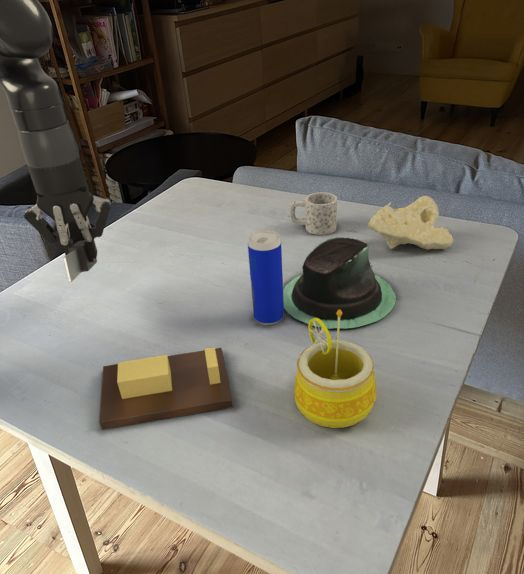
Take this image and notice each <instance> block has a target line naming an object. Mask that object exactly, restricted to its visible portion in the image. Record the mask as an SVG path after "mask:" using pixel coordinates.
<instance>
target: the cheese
mask: <svg viewBox="0 0 524 574" xmlns="http://www.w3.org/2000/svg"><path fill="white" fill-rule="evenodd" d="M391 204H392V202H389V203H388V204H387V205H386V204H385V205H384V206H383V207H382V208H380V209H379V210H376V213H375V214H374V215H373V216H372V217H370V219H369V222H368V224H367V226H368V228H369V229H370V230H371V231H374V232H376V233H378V234H379V235H381V236H382V237H383V239H384V240H385V241H386V244H387V246H388V247H389V249H390V250H394V248H396V247H398V246H399V245H406V244H411V245H415V246H417V247H418V248H420V249H424V250H426V251H427V250H446V249H448V248H449V247H451V246H452V245H453V243H454V238H453V235H452V234H451V233H450V232H449V230H448V229H447V228H444V227H443V226H440V227H436V223H437V222H438V219H439V217H440V215H439V214H440V211H439V207H438V205H437V203H436V202H435V200H434V199H433V198H432V197H430V196H428V195H422V196H420V197H419V198H417V199H416V200H414V201H413V202H412V203H410V204H408V205H406V206H404V207H398V208H396V209H393V207H391V206H390V205H391Z"/></svg>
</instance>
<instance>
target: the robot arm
mask: <svg viewBox="0 0 524 574" xmlns="http://www.w3.org/2000/svg"><path fill="white" fill-rule="evenodd" d="M39 1H40V0H0V86H1V88H2V89H3V92H4V93H5V95H6V98H7V103H8V106H9V109H10V112H11V115H12V118H13V121H14V125H15V127H16V131H17V133H18V134H17V135H18V140H19V144H20V148H21V150H22V155H23V157H24V160H25V162H26V165H27V168H28V172H29V175H30V178H31V181H32V184H33V187H34V190H35V193H36V201H35V202H36V203H35V204H33V206H28V207H27V208H26V210H25V212H24V214H23V217H24V219H25V221H26V222H28V223H29V224H30V225H31V226H32V227H33V228H34V229H35V230H36V231H37V232H38V233H39V234H40V235H41V236H42V237H43V238H44V239H45V240H46V241H47V242H48V243H50V244H55V243H57V244H59V245H61V246H62V250H63V252H64V256H66V255H68V254H69V252H68V248H69V247H70V246H72V245H74V244H75V243H74V241H73V238H71V233H70V230H69V224H70V223H75V224H76V225H77V227H78V230H79V231H80V232H81V235H82V237H83V241H84V244H85V245H86V248H87V252H88V255H89V259H90V262H94V261H95V258H96V259H97V257H98V247H97V245H96V241H95V239H96V238H101V237H102V236H103V234H104V230H105V227H106V223H107V219H108V216H109V213H110V211H111V204H112V201H111V198H109V197H107V196H106V197H104V198H103V197H100V196H98V195H97V196H96V195H95V194H94V192H93V191H92V190H91V188H90V187H89V185H88V181H87V178H86V174H85V171H84V167H83V162H82V159H81V156H80V152H79V150H80V148H79V145H78V143H77V141H76V137H75V134H74V131H73V129H72V127H71V124H70V122H69V117H68V114H67V111H66V107H65V103H64V101H63V100H64V99H63V96H62V93H61V90H60V87H59V86H58V83H57V82H56V80H54V79H53V78H52V77H51V76H50V75H48V74H47V73H46V72H45V71H44V70H43V68H42V66H41V63H40V60H39V59H38V58H42V57H43V56H45V55H46V54H47V53H49V51H50V49H51V47H52V45H53V42H54V28H53V25H52V22H51V19H50V16H49V15H48V12H47V11H46V10H45V7H44V6H43V5H42V4H41V2H39ZM92 205H94V206H95V211H96V212H97V213H98V216H97V219H96V223H95V225H94V226H93V227H92V226H91V223H90V220H89V217H88V214H89V212H90V209H91V208H92ZM43 213H44V214H45V215H47V216H48V217H49V218H50V219H51V220H53V221H54V222H55V226H56V229H55V228H54V227H53V226H52V225H51V224H50V223H49V222H48V221H47V220H46V219H45V218H44V214H43Z"/></svg>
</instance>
